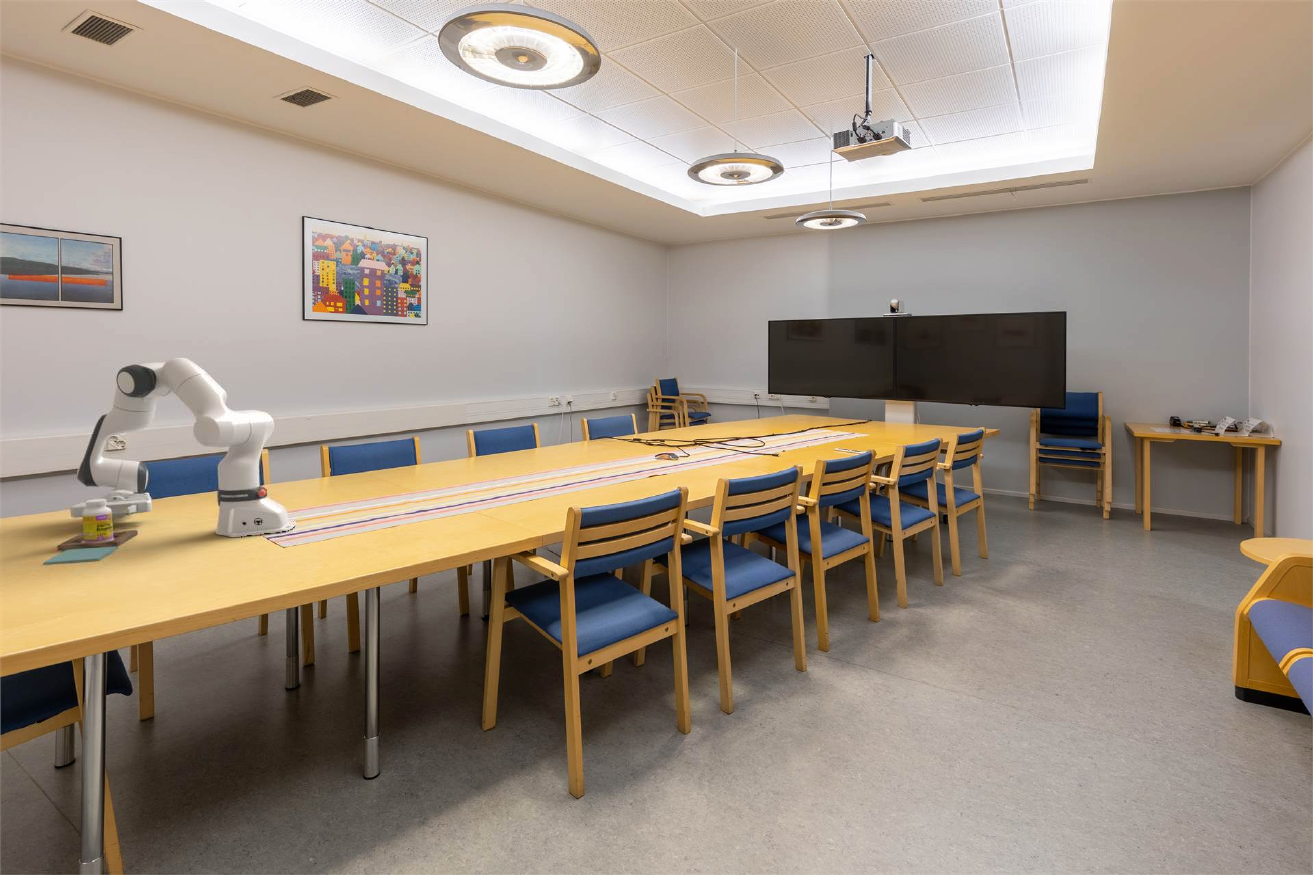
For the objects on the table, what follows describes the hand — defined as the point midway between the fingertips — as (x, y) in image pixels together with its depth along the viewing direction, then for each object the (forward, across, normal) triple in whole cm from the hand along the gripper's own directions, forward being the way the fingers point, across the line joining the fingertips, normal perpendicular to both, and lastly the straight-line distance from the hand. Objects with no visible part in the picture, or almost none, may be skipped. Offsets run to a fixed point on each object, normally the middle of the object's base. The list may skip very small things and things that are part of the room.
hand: (107, 512), depth 200 cm
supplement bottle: (+12, 0, +7) cm, 14 cm away
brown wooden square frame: (+12, 0, +6) cm, 13 cm away
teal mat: (+27, -1, +6) cm, 28 cm away
